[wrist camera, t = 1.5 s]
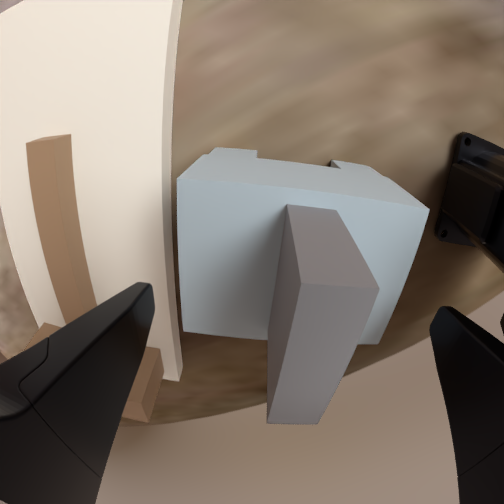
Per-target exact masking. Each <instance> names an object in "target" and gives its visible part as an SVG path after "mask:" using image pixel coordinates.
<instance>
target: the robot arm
mask: <svg viewBox="0 0 504 504" xmlns="http://www.w3.org/2000/svg"><path fill="white" fill-rule="evenodd" d="M465 138H467V143H466V144H465ZM443 230H444V232H443V234H441V232H442V231H443ZM434 234H435V236H436V238H437V239H438V240H440V241H442V242H449V243H455V244H461V245H468V246H474V247H478V248H479V249H480V250H481V251H482V252H483V253H484V254H485V255H486V256H487V257H488V258H489V259H490V260H491V261H492V262H493V263H494V264H495V265H496V266H497V267H498V268H499V269H500V270H501V271H502V272H503V273H504V149H503V148H501V147H499V146H497V145H495V144H493V143H490V142H488V141H486V140H484V139H482V138H479V137H477V136H475V135H472V134H470V133H467V132H461V133H460V134H459V135H458V138H457V144H456V149H455V154H454V159H453V163H452V167H451V171H450V175H449V179H448V183H447V187H446V191H445V195H444V199H443V202H442V206H441V211H440V214H439V217H438V221H437V224H436V227H435V231H434ZM154 314H155V301H154V293H153V287H152V285H151V284H150V283H146V282H136V283H135V284H133V285H131V286H130V287H128V288H126V289H125V290H123V291H121V292H119V293H118V294H116V295H114V296H113V297H111V298H109V299H108V300H106V301H104V302H103V303H101V304H99V305H98V306H96V307H94V308H93V309H91V310H90V311H88V312H86V313H85V314H83V315H81V316H80V317H78V318H76V319H75V320H73V321H72V322H70V323H68V324H67V325H65V326H64V327H62V328H60V329H59V330H57V331H56V332H54V333H52V334H51V335H49V337H46V338H44V339H43V340H41V341H40V342H38V343H36V344H35V345H33V346H31V347H30V348H28V349H26V350H25V351H23V352H21V353H20V354H18V355H16V356H14V357H12V358H11V359H9V360H7V361H5V362H3V363H1V364H0V504H95V502H96V499H97V495H98V491H99V488H100V484H101V480H102V476H103V473H104V470H105V466H106V463H107V460H108V457H109V453H110V450H111V447H112V444H113V441H114V438H115V435H116V431H117V429H118V426H119V423H120V420H121V417H122V414H123V411H124V408H125V405H126V402H127V399H128V397H129V394H130V391H131V388H132V385H133V383H134V380H135V377H136V375H137V372H138V369H139V367H140V364H141V361H142V358H143V355H144V352H145V348H146V344H147V340H148V336H149V332H150V328H151V325H152V321H153V317H154ZM500 324H501V327H502V331H503V334H504V314H503V316H502V319H501V321H500ZM430 336H431V341H432V346H433V351H434V356H435V362H436V367H437V372H438V376H439V380H440V384H441V388H442V392H443V395H444V400H445V405H446V409H447V414H448V419H449V423H450V429H451V434H452V439H453V446H454V452H455V460H456V467H457V476H458V488H459V502H460V504H504V344H503V343H502V342H501V341H499V340H498V339H497V338H495V337H494V336H493V335H491V334H490V333H489V332H487V331H486V330H484V329H483V328H482V327H480V326H479V325H477V324H476V323H474V322H473V321H472V320H470V319H469V318H467V317H466V316H464V315H463V314H462V313H460V312H459V311H457V310H456V309H454V308H453V307H451V306H442V307H440V308H439V309H438V311H437V313H436V315H435V317H434V319H433V321H432V323H431V325H430Z"/></svg>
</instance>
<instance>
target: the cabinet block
mask: <svg viewBox="0 0 504 504" xmlns="http://www.w3.org/2000/svg"><path fill="white" fill-rule="evenodd" d="M428 214H429V209H428V208H427V207H426V206H425V205H423V204H422V203H421V202H420V201H418V200H417V199H416V198H414V197H413V196H412V195H411V194H409V193H408V192H407V191H405V190H404V189H403V188H401V187H400V186H399V185H397V184H396V183H395V182H393V181H392V180H390V179H389V178H388V177H384V176H382V175H381V174H379V173H378V172H377V171H375V170H374V169H372V168H371V167H369V166H365V165H360V164H354V163H348V162H343V161H336V160H331V166H330V167H326V166H319V165H312V164H304V163H297V162H288V161H279V160H270V159H260V158H257V150H246V149H233V148H218V147H216V148H214V149H213V150H212V151H211V152H210V153H209V154H208V155H207V154H203V155H202V156H201V157H200V158H199V159H198V160H197V161H195V162H194V163H193V164H192V165H191V166H190V167H189V168H188V169H187V170H186V171H185V172H183V173H182V174H181V175H180V176H179V177H178V178H177V232H178V260H179V280H180V296H181V310H182V322H183V331H185V332H193V333H201V334H209V335H217V336H226V337H236V338H247V339H258V340H268V351H267V423H270V424H318V422H319V420H320V419H321V417H322V415H323V413H324V412H325V410H326V408H327V406H328V404H329V402H330V400H331V398H332V396H333V395H334V393H335V391H336V389H337V387H338V385H339V383H340V381H341V379H342V377H343V375H344V372H345V370H346V368H347V366H348V364H349V362H350V360H351V358H352V355H353V353H354V351H355V349H356V347H357V344H378V343H379V341H380V339H381V337H382V335H383V333H384V331H385V329H386V326H387V324H388V322H389V320H390V318H391V315H392V313H393V311H394V308H395V306H396V304H397V301H398V299H399V297H400V294H401V292H402V289H403V287H404V284H405V282H406V279H407V276H408V274H409V271H410V269H411V266H412V263H413V260H414V257H415V255H416V252H417V249H418V246H419V243H420V240H421V237H422V234H423V230H424V227H425V224H426V221H427V217H428Z"/></svg>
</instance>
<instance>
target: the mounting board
mask: <svg viewBox="0 0 504 504" xmlns="http://www.w3.org/2000/svg"><path fill="white" fill-rule="evenodd" d="M182 3H183V0H24V1H22V2H20V3H18V4H16V5H15V6H13V7H11V8H9V9H7V10H5V11H4V12H2V13H0V206H1V211H2V216H3V220H4V225H5V229H6V233H7V237H8V241H9V245H10V248H11V252H12V255H13V259H14V262H15V265H16V268H17V272H18V275H19V278H20V281H21V283H22V286H23V289H24V292H25V295H26V297H27V300H28V302H29V305H30V308H31V310H32V313H33V315H34V317H35V320H36V322H37V324H38V327H39V330H38V331H37V333H36V334H35V335H34V337H33V338H32V340H31V341H30V342H29V344H28V345H27V347H26V348H25V350H26V349H28V348H30V347H31V346H33V345H35V344H36V343H38V342H40V341H41V340H43V339H44V338H46V337H49V335H51V334H52V333H54V332H56V331H57V330H59V329H60V328H62V327H64V326H65V325H67V324H68V323H70V322H72V321H73V320H75V319H76V318H78V317H80V316H81V315H83V314H85V313H86V312H88V311H90V310H91V309H93V308H94V307H96V306H98V305H99V304H101V303H103V302H104V301H106V300H108V299H109V298H111V297H113V296H114V295H116V294H118V293H119V292H121V291H123V290H125V289H126V288H128V287H130V286H131V285H133V284H135V283H136V282H146V283H150V284H151V285H152V287H153V293H154V301H155V314H154V317H153V321H152V325H151V328H150V332H149V336H148V340H147V344H146V348H145V352H144V355H143V358H142V361H141V364H140V367H139V369H138V372H137V375H136V377H135V380H134V383H133V385H132V388H131V391H130V394H129V397H128V399H127V402H126V405H125V408H124V411H123V414H122V417H126V418H130V419H134V420H138V421H142V422H146V423H149V421H150V418H151V414H152V411H153V407H154V404H155V401H156V397H157V394H158V391H159V387H160V384H161V381H162V379H167V380H172V381H178V382H179V380H180V376H181V372H182V369H183V363H182V354H181V346H180V336H179V327H178V316H177V305H176V292H175V278H174V262H173V241H172V210H171V144H172V114H173V95H174V80H175V66H176V55H177V45H178V35H179V26H180V18H181V10H182ZM25 350H24V351H25Z"/></svg>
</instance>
